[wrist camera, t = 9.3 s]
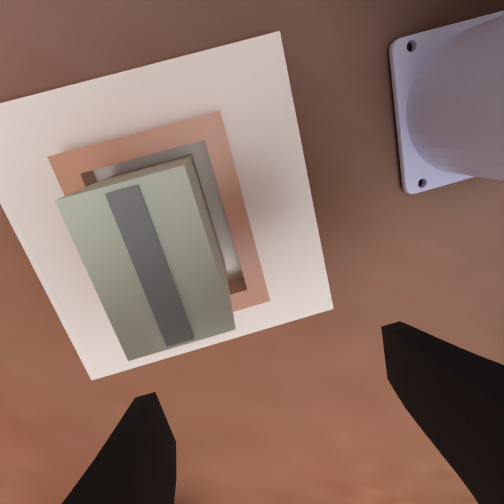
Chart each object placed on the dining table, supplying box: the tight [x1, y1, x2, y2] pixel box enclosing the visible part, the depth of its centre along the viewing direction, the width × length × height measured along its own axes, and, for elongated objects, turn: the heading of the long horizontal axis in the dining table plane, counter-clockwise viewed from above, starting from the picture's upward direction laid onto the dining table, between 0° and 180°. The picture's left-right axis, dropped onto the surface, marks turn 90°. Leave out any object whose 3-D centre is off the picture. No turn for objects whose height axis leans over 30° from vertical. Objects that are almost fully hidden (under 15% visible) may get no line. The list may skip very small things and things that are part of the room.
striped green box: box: [55, 154, 236, 361], centre depth 15 cm, size 6×4×7 cm, turn 13°
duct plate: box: [0, 31, 333, 380], centre depth 18 cm, size 15×15×3 cm
